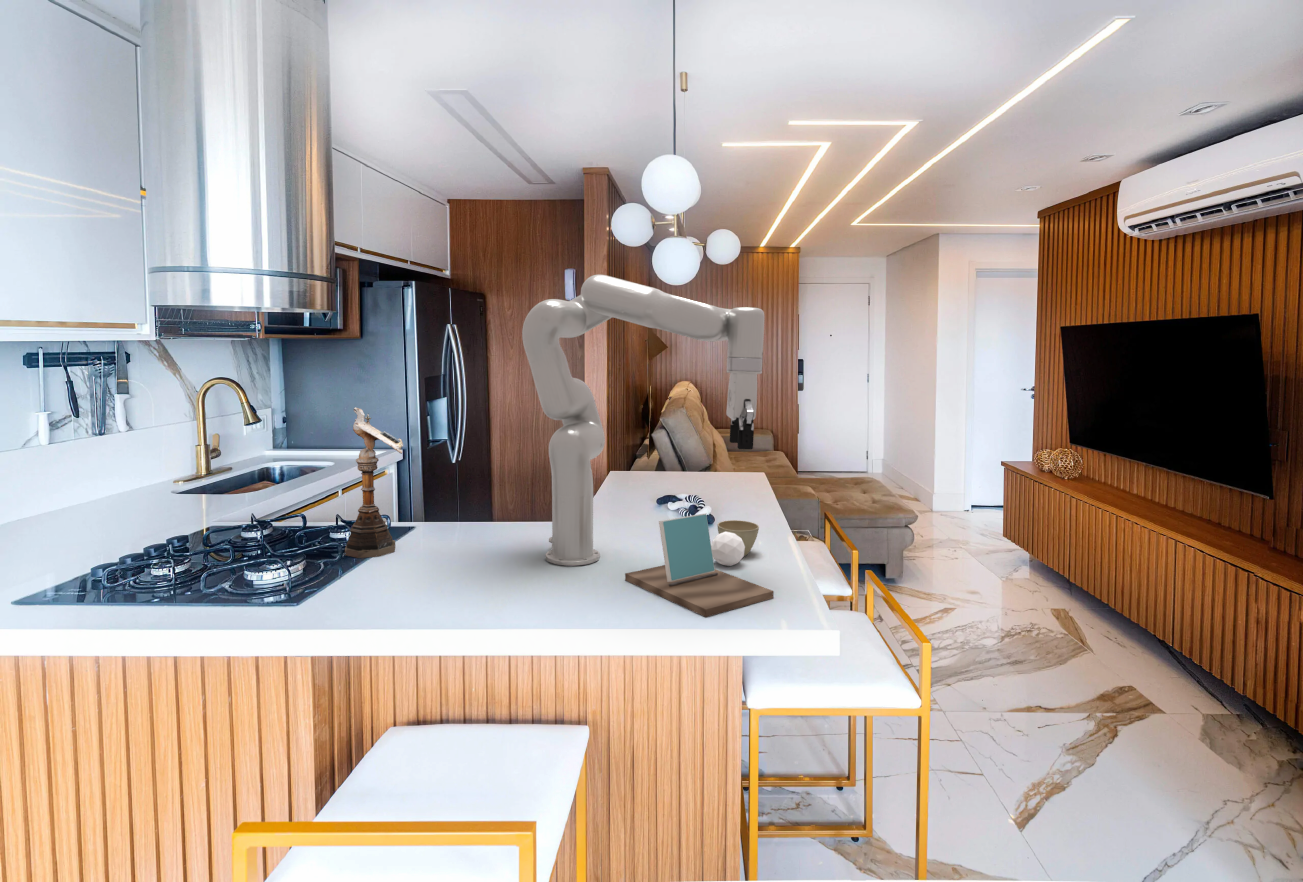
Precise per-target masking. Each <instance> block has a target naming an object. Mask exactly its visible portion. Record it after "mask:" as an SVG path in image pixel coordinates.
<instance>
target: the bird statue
mask: <svg viewBox="0 0 1303 882" xmlns="http://www.w3.org/2000/svg"><path fill="white" fill-rule="evenodd" d="M353 412H354V413H355V414H356V418H355V419H354V422H353V424H352V425H353V426H352V431H353V432H354V433H355V434H356V435H357V436H358V437H360V438H362V439H363V444H364V446H365V447H364V448H362V449H361V450H360V451H359V453H358V458H356V459H355V463H357V470H358V471H359V472H361V473H360V474H361V481H362V483H361V484H362V485H361V486H362V487H361V489H360V491H362V505H361V506H360V507H359V508H358V509H357V512H358V514H357V517H356V519H355V522H354V523H353V524H352V526H351V528H350V530H349V532H350V534H349V537H348V540H347V542H346V546H345V548H344V555H345V556H346V557H347V556H348V557H353V558H357V559H360V558H361V559H364V558H377V557H379V558H380V557H384V556H385V555H389V554H392V553H395V550H396V540H395V539H393V536H392V535H391V533H390V530H389V528H388V527H389V525H387V523H386V521H385V520H384V519H383V517H382V515H381V513H380V508H379V507H378V506H377V505H376V504H375V490H376V488H375V486H374V474H375V471H377V470H378V462H379V458H378V457H377V456H376V454H377V453H376V451H375V450H374V449H375V446H376V441H382V442H383V443H384V444H386V445H388V446H389V447H390V448H392V449H394V450H395V451H396V452H398V453H399V454H402V453H403V450H402V448H403V447H404V444H403V441H402V439H401V438H397V437H395V436H393V435H392V434H390V433H389V432H387V431H385V430H384V431H381V430H380V429H378V428H376V427H374V426H372V425H371V423H370V420H371V419H372V417H370V414H369V413H367V414H366V415H365V413H364V410H363V409H362V408H359V407H354V408H353ZM365 420H366V421H365ZM345 553H346V554H345Z"/></svg>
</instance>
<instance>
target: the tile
mask: <svg viewBox="0 0 1303 882" xmlns="http://www.w3.org/2000/svg"><path fill="white" fill-rule="evenodd" d="M658 525H659V532H660V540H661V546H662V552H663V553H662V554H663V561H664V565H665V568H666V575H667V582H672V581H676V580H680V579H684V578H689V577H693V576H697V575H701V574H706V573H710V572H714V571H715V569H716V568H715V563H714V558H713V555H712V548H711V544H712V540H711V536H710V529H709V524H708V516H707V513H700V514H694V515H687V516H682V517H677V518H676V517H675V518H669V519H663V520H658Z"/></svg>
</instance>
